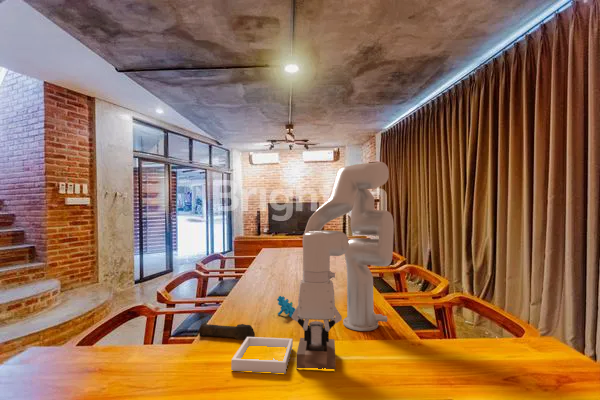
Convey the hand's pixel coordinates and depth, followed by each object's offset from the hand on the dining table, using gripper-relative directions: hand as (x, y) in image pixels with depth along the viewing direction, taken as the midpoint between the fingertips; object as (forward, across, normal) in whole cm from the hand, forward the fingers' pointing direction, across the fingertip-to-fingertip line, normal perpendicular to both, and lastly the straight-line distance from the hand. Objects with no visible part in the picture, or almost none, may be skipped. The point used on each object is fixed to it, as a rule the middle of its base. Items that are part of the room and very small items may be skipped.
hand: (316, 343), depth 77 cm
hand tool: (+5, +30, -13) cm, 33 cm away
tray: (+5, +14, 0) cm, 15 cm away
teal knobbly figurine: (+5, +13, -35) cm, 38 cm away
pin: (+5, 0, 0) cm, 5 cm away
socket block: (+5, 0, 0) cm, 5 cm away
